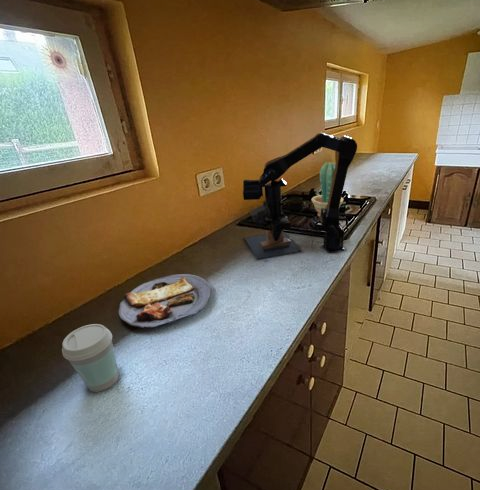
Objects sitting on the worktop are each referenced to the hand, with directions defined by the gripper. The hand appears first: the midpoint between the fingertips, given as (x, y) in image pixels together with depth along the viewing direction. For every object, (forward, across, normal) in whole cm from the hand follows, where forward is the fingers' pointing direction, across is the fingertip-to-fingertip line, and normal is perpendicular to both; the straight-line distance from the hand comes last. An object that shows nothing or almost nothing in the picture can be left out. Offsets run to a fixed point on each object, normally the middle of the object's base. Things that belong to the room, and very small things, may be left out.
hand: (275, 239), depth 113 cm
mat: (+5, -5, 0) cm, 7 cm away
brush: (+4, 0, 0) cm, 4 cm away
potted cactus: (+5, -28, +36) cm, 46 cm away
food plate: (+5, +21, -40) cm, 45 cm away
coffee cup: (+5, +45, -53) cm, 70 cm away
